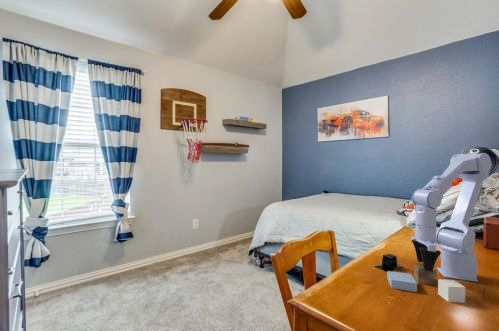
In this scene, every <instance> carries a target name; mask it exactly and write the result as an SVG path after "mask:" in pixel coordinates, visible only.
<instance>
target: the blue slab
mask: <svg viewBox="0 0 499 331" xmlns="http://www.w3.org/2000/svg"><path fill="white" fill-rule="evenodd" d="M386 273H387V275H386V277H387V278H386V279H387V281H388V283H389V286H390V289H394V290H400V291H408V292H413V293H414V292H415V293H418V282H417V280H416V279H415V277H414V275H412V274H411V273H405V272H399V271H398V272H397V271H387V272H386Z"/></svg>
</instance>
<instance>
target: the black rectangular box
mask: <svg viewBox="0 0 499 331" xmlns="http://www.w3.org/2000/svg"><path fill="white" fill-rule="evenodd" d="M381 261H382V262H381V263H380V264H377V265H374V266H373V268H376V269H378V270H381V271H383V272H386V273H387V271H392V272H396V271H399V270H402V269H404V268H406V266H403V265H400V264H399V263H398V258H397V255H394V254H391V253H386V254H383V255H382V259H381Z"/></svg>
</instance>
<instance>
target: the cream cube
mask: <svg viewBox="0 0 499 331" xmlns="http://www.w3.org/2000/svg"><path fill="white" fill-rule="evenodd" d="M437 294H438V295H439V296H440V297H441V298H443V300H445V301H447V302H448V303H463V304H465V303H466V287H465V286H464V285H463V284H461V283H459V282H458V281H456V280H455V279H443V278H442V279H441V278H439V279H438V280H437Z"/></svg>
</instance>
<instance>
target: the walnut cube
mask: <svg viewBox="0 0 499 331" xmlns="http://www.w3.org/2000/svg"><path fill="white" fill-rule="evenodd" d="M413 264H414V265H413V268H414V269H413V271H414V272H413V274H414V275H413V278H414V279H415V281H416V282H417V284H423V285H430V286H435V287H436V286H437V270H436V269H437V268H435V267H434V268H433V271H426V270H424V266H423V262H414V263H413Z"/></svg>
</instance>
